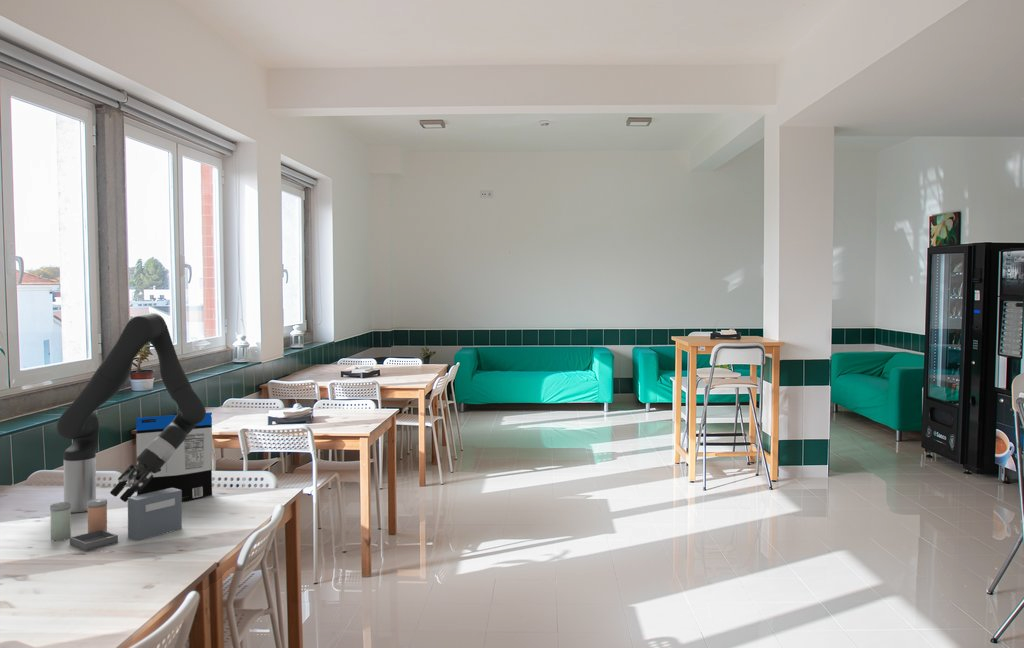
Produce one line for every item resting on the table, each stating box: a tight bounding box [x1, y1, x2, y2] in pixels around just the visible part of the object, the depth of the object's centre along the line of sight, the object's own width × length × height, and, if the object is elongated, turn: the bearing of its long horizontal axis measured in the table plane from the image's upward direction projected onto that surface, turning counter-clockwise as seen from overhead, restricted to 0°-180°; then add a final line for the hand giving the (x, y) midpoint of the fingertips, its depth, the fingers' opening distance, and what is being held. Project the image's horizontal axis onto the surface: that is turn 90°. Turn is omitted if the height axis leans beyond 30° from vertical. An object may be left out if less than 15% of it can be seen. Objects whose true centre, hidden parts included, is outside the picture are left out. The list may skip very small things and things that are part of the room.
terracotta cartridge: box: [87, 498, 108, 533], centre depth 219 cm, size 5×5×10 cm
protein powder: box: [135, 412, 213, 503], centre depth 257 cm, size 10×24×30 cm, turn 123°
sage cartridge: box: [49, 501, 72, 541], centre depth 215 cm, size 5×5×10 cm
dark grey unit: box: [127, 488, 183, 542], centre depth 221 cm, size 6×14×12 cm, turn 146°
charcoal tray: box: [69, 530, 119, 552], centre depth 211 cm, size 9×9×2 cm
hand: (117, 497), depth 223 cm, fingers open, 8 cm apart
